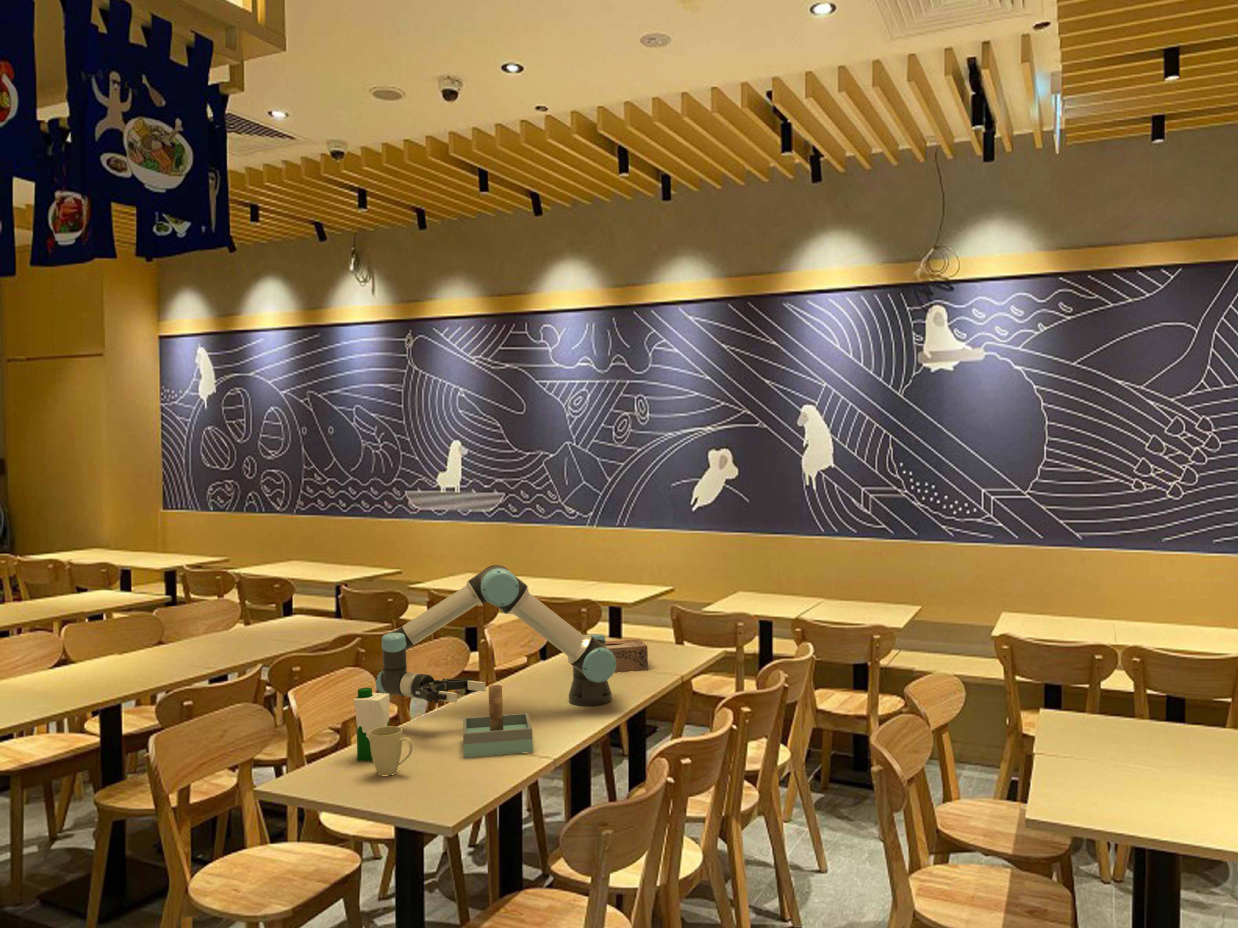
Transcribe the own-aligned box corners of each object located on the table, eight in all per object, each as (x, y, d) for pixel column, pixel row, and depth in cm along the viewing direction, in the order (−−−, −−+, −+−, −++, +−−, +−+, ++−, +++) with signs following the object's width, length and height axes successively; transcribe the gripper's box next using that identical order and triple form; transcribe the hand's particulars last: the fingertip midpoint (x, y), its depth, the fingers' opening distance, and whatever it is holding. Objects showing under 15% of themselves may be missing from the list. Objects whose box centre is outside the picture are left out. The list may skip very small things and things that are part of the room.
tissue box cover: (583, 675, 374) (582, 650, 374) (578, 667, 388) (577, 642, 388) (648, 670, 379) (647, 645, 379) (640, 663, 393) (639, 638, 393)
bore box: (528, 735, 298) (528, 712, 298) (532, 752, 281) (532, 728, 281) (463, 740, 295) (463, 717, 295) (463, 757, 278) (463, 733, 278)
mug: (373, 782, 260) (372, 738, 259) (368, 771, 269) (366, 728, 268) (414, 775, 264) (412, 732, 264) (407, 765, 273) (405, 723, 273)
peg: (503, 743, 290) (501, 684, 290) (504, 747, 286) (502, 687, 286) (490, 744, 290) (488, 685, 289) (490, 748, 286) (488, 688, 285)
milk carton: (366, 751, 286) (364, 685, 286) (394, 752, 285) (392, 685, 284) (352, 761, 278) (350, 692, 277) (381, 762, 276) (379, 693, 276)
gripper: (444, 687, 315) (496, 694, 304) (390, 707, 293) (444, 715, 283) (443, 665, 315) (495, 670, 304) (389, 683, 293) (443, 689, 282)
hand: (470, 692), depth 293 cm, fingers open, 13 cm apart
